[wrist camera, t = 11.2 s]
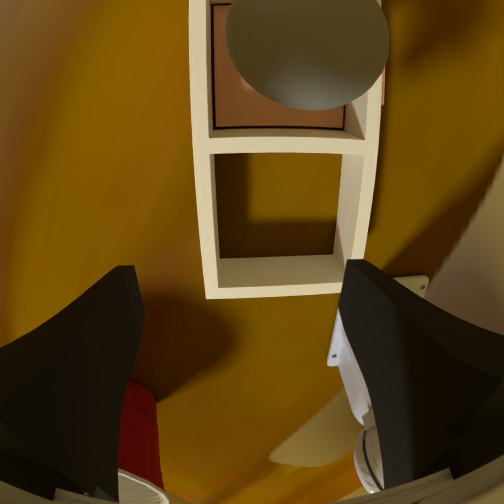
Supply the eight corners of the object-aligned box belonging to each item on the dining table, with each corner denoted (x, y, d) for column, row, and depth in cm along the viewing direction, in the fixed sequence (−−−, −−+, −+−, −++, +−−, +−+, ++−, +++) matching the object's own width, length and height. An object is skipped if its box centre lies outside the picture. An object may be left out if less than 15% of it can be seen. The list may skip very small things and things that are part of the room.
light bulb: (335, 17, 14) (424, -30, 6) (325, 108, 17) (411, 134, 9) (232, 3, 14) (233, -75, 5) (224, 97, 17) (213, 106, 8)
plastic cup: (154, 355, 27) (131, 476, 16) (192, 417, 32) (187, 513, 21) (63, 362, 27) (26, 459, 17) (111, 419, 32) (94, 503, 22)
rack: (346, 263, 23) (362, 290, 20) (209, 268, 22) (206, 298, 19) (353, -94, 10) (371, -114, 7) (200, -104, 9) (195, -130, 6)
